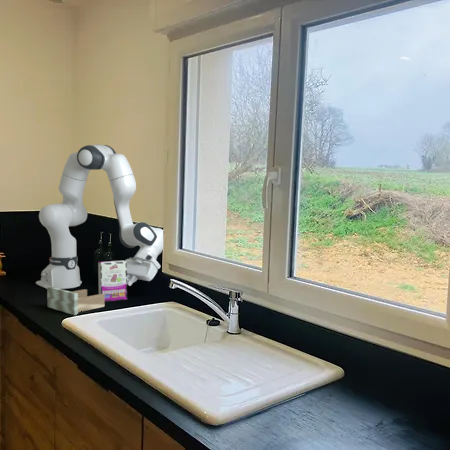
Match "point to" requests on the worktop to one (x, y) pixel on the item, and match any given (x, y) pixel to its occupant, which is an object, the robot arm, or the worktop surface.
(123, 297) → the candy bar box
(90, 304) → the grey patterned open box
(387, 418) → the worktop surface
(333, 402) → the worktop surface
